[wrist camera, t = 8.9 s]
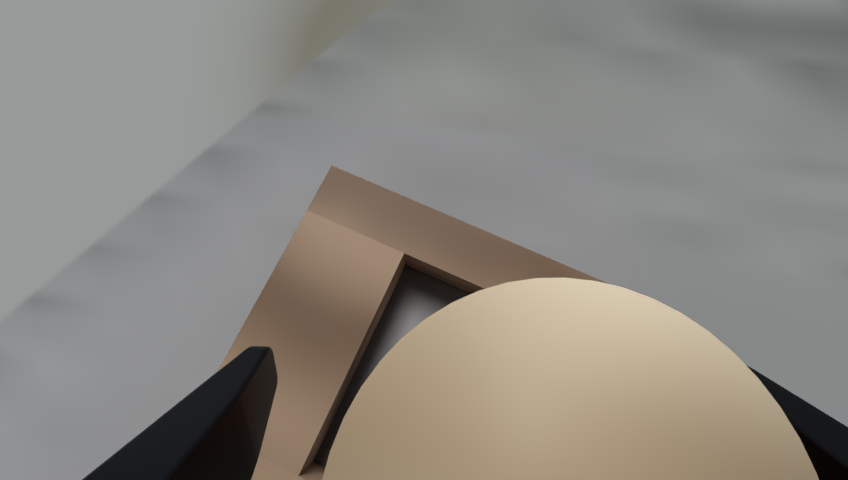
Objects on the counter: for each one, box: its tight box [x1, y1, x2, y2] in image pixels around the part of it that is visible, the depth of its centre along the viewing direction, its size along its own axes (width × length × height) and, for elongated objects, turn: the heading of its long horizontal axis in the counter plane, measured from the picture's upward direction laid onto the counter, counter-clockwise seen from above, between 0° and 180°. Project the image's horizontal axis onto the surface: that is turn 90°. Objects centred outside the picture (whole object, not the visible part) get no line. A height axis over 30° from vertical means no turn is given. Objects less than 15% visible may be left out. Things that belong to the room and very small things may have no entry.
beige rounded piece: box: [322, 278, 819, 480], centre depth 10 cm, size 5×5×12 cm
